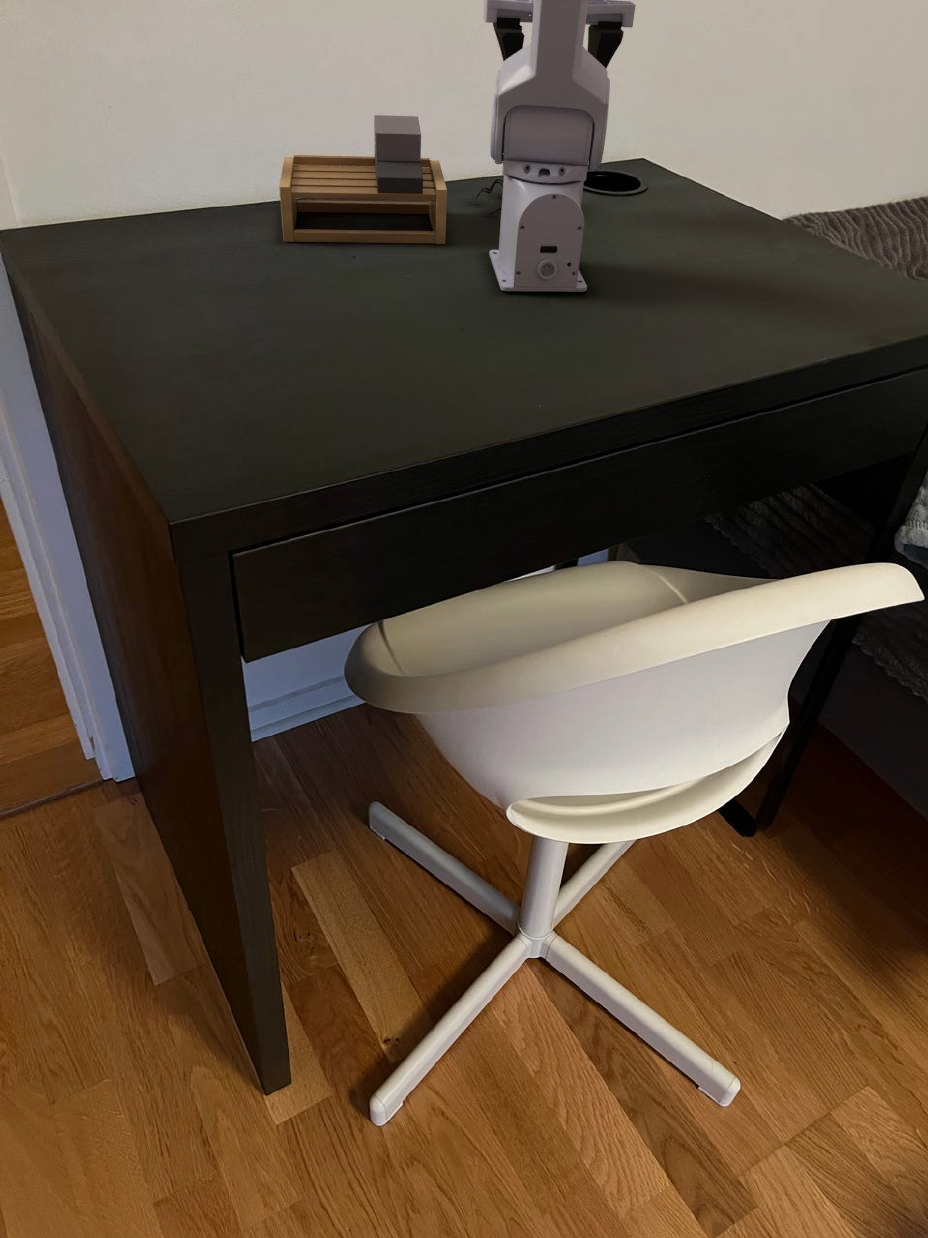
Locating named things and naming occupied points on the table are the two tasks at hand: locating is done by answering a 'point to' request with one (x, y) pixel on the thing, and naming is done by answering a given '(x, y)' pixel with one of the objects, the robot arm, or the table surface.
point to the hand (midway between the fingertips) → (550, 105)
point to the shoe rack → (356, 182)
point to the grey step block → (398, 154)
